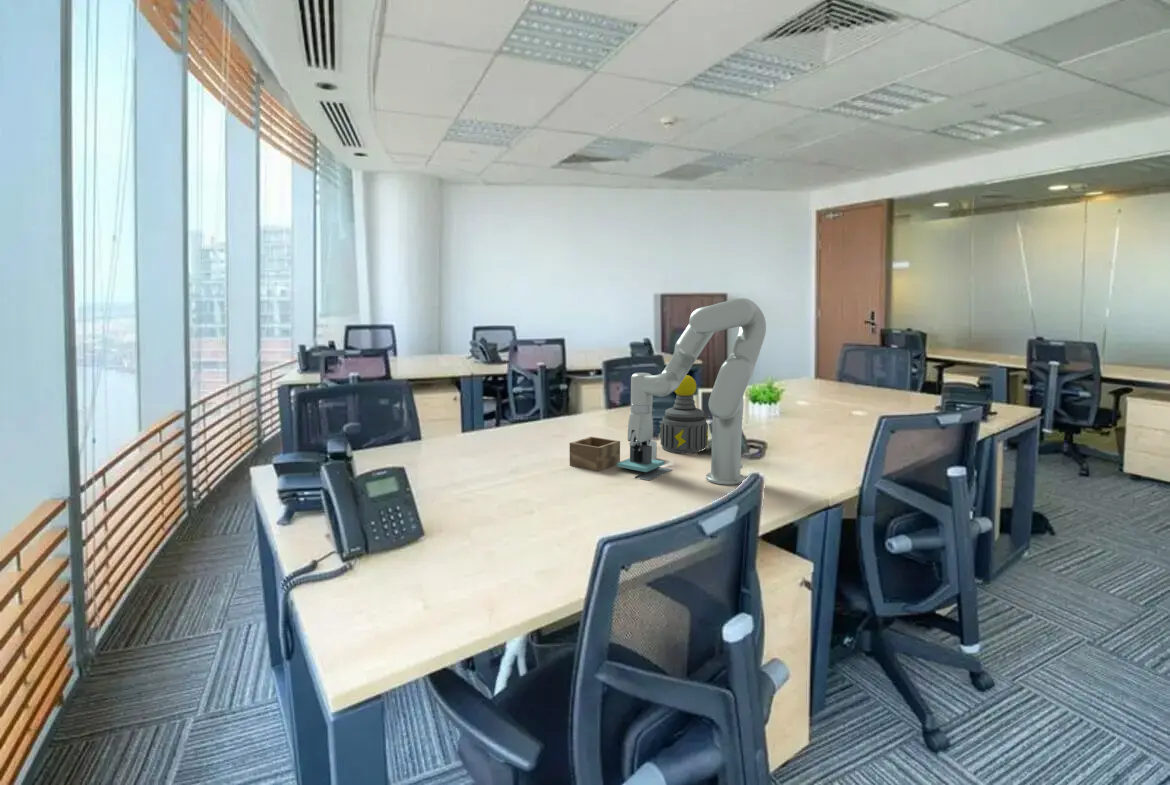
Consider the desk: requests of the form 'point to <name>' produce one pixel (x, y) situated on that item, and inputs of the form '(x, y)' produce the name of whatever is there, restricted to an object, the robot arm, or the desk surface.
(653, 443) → the medicine bottle
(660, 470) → the mat
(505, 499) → the desk surface
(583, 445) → the box
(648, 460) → the lid
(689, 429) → the decorative lamp
